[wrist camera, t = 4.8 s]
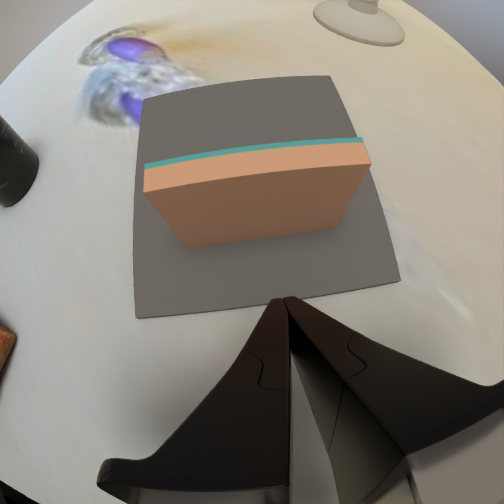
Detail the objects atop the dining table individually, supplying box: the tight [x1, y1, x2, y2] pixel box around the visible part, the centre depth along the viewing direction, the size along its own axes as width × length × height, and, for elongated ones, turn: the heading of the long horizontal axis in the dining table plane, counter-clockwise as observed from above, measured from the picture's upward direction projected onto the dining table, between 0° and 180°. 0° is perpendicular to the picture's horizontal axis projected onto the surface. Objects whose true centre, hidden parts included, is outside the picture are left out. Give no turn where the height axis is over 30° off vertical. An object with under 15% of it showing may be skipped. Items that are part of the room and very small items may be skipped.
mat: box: [133, 76, 401, 319], centre depth 21 cm, size 20×18×1 cm
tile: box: [143, 137, 372, 249], centre depth 16 cm, size 2×10×8 cm, turn 97°
